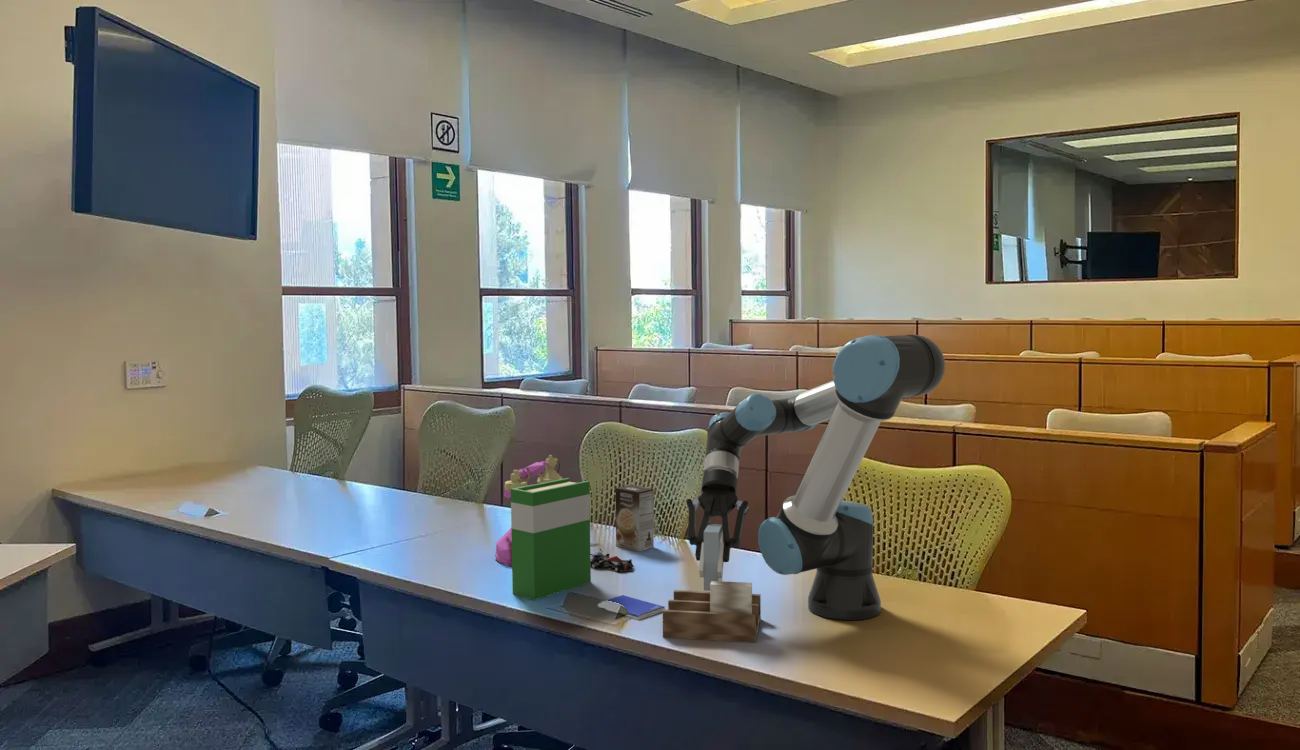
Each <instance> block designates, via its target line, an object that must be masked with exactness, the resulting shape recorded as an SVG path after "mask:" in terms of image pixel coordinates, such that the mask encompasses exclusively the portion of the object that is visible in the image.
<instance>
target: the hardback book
mask: <svg viewBox="0 0 1300 750" xmlns="http://www.w3.org/2000/svg"><path fill="white" fill-rule="evenodd" d="M590 487H591V485H590V481H588V480H585V481H580V482H574V481H573V482H572V481H571V478H570V477H566V478H564V479H559V480H554V481H549V482H544V483H539V482H538V483H536V484H535V483H534V484H529V485H528V484H527V486H523V487H518V488H513V489H511V498H510V517H511V519H510V520H511V521H510V522H511V524H510V528H511V531H512V568H511V570H512V571H511V574H512V575H511V576H512V577H511V578H512V582H511V583H512V594H513V595H517V596H520V597H523V598H525V599H526V598H527V599H528V600H534V601H536V600H539V599H542V598H545V597H546V598H547V597H548V596H553V595H556V594H557V593H561V592H565V591H567V590H570V589H574V588H577V587H581V586H584V585H586V584H591V582H592V579H591V578H592V576H591V575H592V574H591V572H592V568H591V560H592V559H591V555H590V553H591V508H590V507H591V503H590V502H591V499H590V498H591V497H590Z"/></svg>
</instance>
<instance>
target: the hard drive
mask: <svg viewBox="0 0 1300 750" xmlns="http://www.w3.org/2000/svg"><path fill="white" fill-rule="evenodd" d="M607 600H608V601H612V602H616V603H619V604H621V605H623V606H624V607H625V608H626V609H627V611H628V612H627V614H628V616H629V617H628V618H630V617H631V619H634V620H637V621H639V620H642V619H646V618H647V617H651V616H654V615H656V614H659V613H663V610H666V608H665V607H666V606H664V605H660V604H658V603H652V602H649V601H646V600H642V599H639V598H636V597H635V598H634V597H631V596H627V595H624V594H622V595H618V596H616V597H612V598H609V599H607Z"/></svg>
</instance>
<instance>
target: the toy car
mask: <svg viewBox="0 0 1300 750" xmlns="http://www.w3.org/2000/svg"><path fill="white" fill-rule="evenodd" d="M599 549H600V550H599V551H597V552H594V553H592V552H590V556H592V559H591V569H594V570H595V569H599V570H604V571H612V572H615V573H621V572H626V571H627V572H628V571H629V572H634V568H635V565H634V564H633V562H632V558H631V559H621V558H620V557H618V556H617V555H615V556H610V553H607V554H603V550H602V549H601V548H599Z"/></svg>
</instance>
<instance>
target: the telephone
mask: <svg viewBox="0 0 1300 750" xmlns="http://www.w3.org/2000/svg"><path fill="white" fill-rule="evenodd" d="M556 465H558V469H557V471H556V469H555V468H556ZM560 466H561V465H560V462H559V459H558V458H557V457H553V455H552V454H548V456H547V458H546V459H545V460H544V461H540V462H539V461H536V462H534V463H532V464H530V465H528V466H526V467H524V468H523V467H522V468H520V469H513V471H512V473H510V480H506V481H504V494H503V495H504V498H506V499H511V489H513V488H518V487H523V486H528V482H529V481H530V480H531V479H530V478H532V477H534V476H536V475H537V476H539V477H538V478H537V480H536V482H537V483H538V484H539V483H544V482H549V481H554V480H559V479H564V477H565V476H562V475H560V474H559V471H560V468H561V467H560ZM495 543H496V545H495V551H494V557H495V559H496V561H497V562H498V563H501V564H503V565H506V566H512V531H511V527H510V528H509V529H508V530H507V531H506V532H505V533H504V534H503V535H502V536H501V537H500V538H498V540H497V541H496V542H495Z"/></svg>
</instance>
